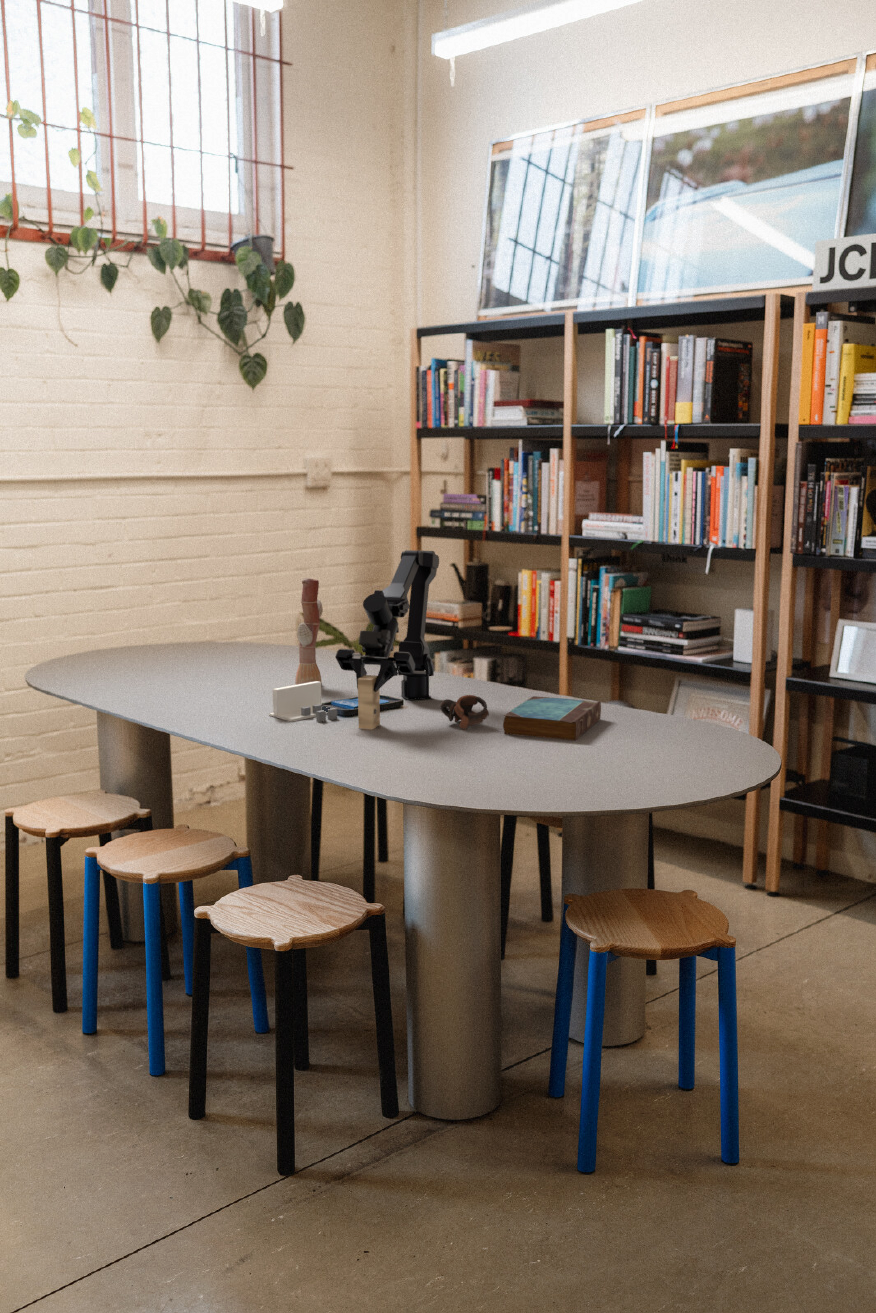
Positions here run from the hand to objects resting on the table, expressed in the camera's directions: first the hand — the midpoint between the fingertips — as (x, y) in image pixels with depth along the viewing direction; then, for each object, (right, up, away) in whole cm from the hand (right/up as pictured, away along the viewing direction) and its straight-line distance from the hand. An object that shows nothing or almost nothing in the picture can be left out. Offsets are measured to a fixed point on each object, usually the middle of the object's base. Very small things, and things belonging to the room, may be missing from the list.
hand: (366, 690), depth 278 cm
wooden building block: (0, -9, +3) cm, 9 cm away
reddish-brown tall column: (-19, 0, +53) cm, 56 cm away
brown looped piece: (+23, -9, +4) cm, 25 cm away
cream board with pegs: (-15, -7, +15) cm, 22 cm away
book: (+44, -9, +2) cm, 45 cm away
